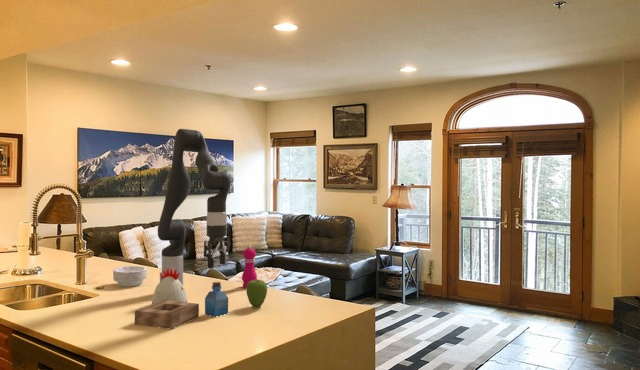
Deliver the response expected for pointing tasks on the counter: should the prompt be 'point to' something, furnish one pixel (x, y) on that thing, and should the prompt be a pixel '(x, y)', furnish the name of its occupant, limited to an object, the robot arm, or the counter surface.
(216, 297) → the perfume bottle
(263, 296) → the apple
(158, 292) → the kitchen timer
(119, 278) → the paper bowls
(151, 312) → the holder block
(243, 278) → the pepper mill
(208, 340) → the counter surface
